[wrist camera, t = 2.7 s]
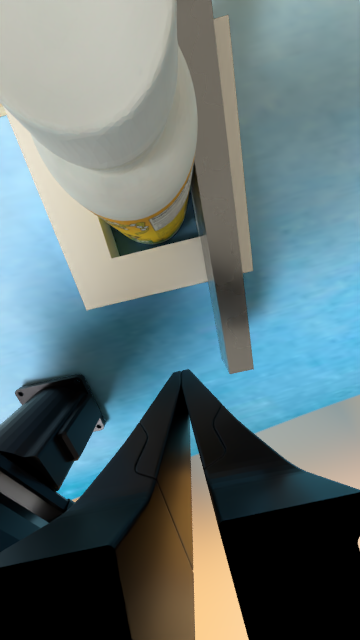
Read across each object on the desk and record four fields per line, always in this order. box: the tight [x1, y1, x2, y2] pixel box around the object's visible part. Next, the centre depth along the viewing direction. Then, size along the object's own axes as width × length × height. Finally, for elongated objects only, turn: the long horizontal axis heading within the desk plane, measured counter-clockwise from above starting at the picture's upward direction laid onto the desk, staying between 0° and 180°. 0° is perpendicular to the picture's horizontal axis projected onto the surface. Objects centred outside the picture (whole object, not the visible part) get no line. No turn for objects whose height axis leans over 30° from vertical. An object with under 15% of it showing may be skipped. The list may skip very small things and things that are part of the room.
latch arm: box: [177, 0, 254, 374], centre depth 9 cm, size 19×2×2 cm, turn 13°
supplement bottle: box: [0, 0, 198, 244], centre depth 7 cm, size 5×5×10 cm
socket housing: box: [3, 15, 253, 310], centre depth 11 cm, size 12×12×2 cm
